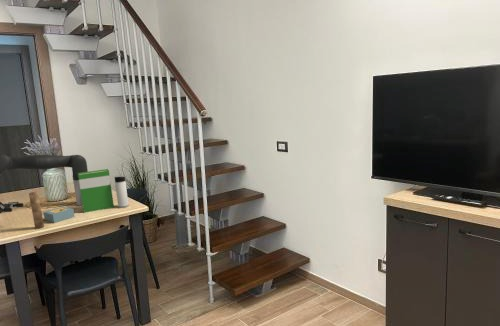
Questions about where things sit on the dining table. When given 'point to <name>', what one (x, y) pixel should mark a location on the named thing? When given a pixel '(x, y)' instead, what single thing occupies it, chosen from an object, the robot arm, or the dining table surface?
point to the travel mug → (121, 192)
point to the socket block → (58, 214)
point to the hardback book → (95, 190)
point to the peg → (36, 210)
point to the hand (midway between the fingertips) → (17, 207)
